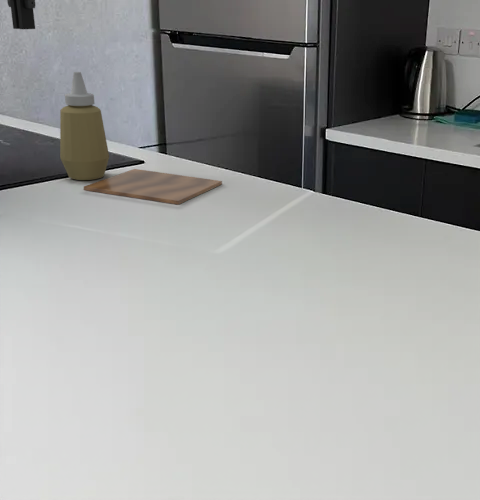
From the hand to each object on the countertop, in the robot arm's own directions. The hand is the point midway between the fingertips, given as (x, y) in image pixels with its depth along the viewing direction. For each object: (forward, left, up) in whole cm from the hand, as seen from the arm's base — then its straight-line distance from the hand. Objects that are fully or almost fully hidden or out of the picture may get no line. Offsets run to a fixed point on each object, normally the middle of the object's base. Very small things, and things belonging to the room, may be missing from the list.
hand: (24, 28), depth 115 cm
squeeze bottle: (+10, 0, -25) cm, 27 cm away
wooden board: (+24, 0, -24) cm, 34 cm away
